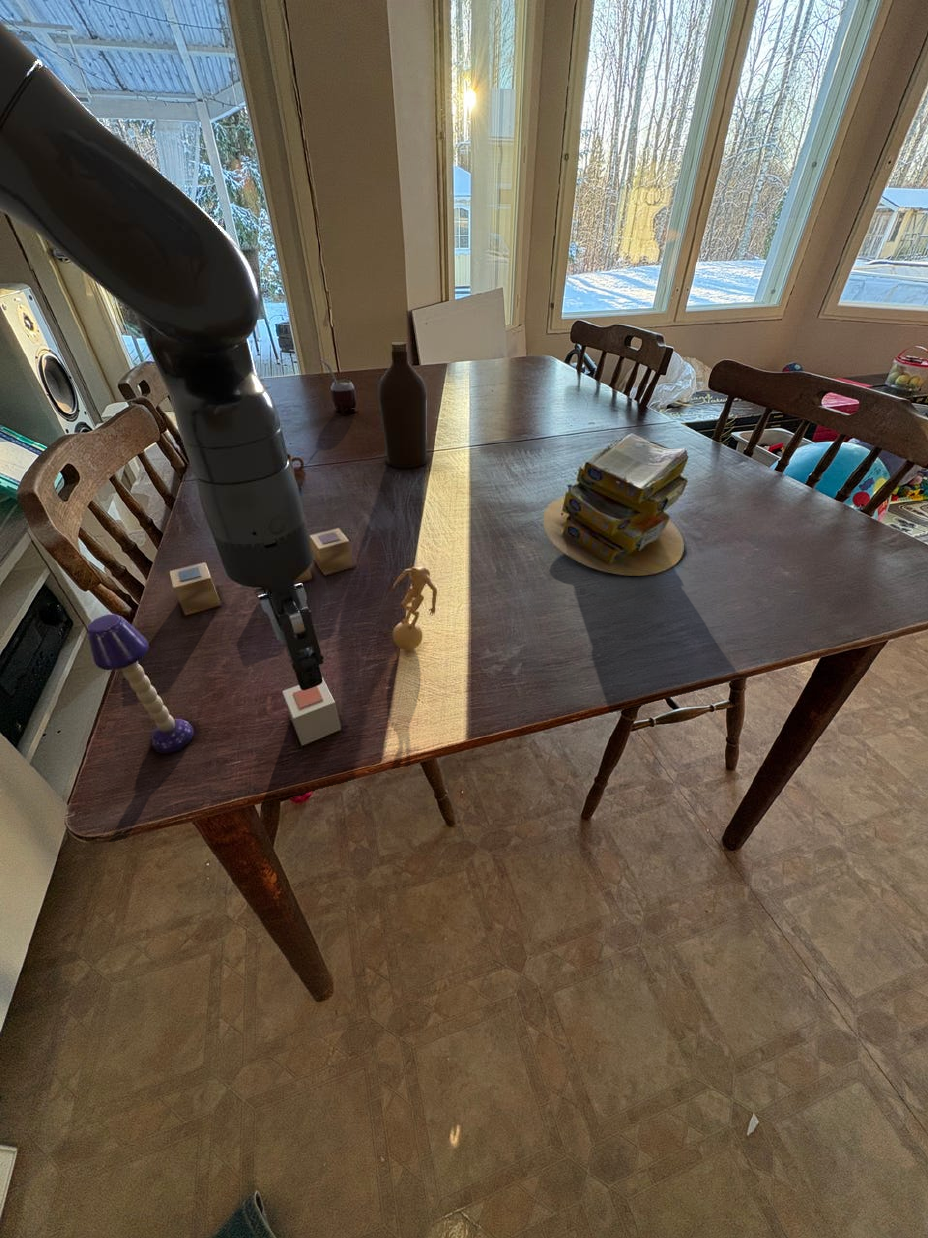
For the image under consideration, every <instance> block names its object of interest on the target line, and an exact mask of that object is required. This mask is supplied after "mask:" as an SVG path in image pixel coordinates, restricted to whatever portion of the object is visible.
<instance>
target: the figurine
mask: <svg viewBox="0 0 928 1238" xmlns="http://www.w3.org/2000/svg"><path fill="white" fill-rule="evenodd" d="M406 574H408V575H409V582H410V587H409V588H408V589H407V593H406V595H405V597H404V599H403V600H402V601H401V606H402V608H403V609H405V610H406V611H408V612H407V615H405V618H403V619H402V620H401V622H399V623H397V624H396V626H395V627H394V629H393V631H392V641H393V643H394V644H395V646H396V647H397V648H399V649H401V651H402V650H403V651H413V650H416V648H417V649H418V647H419V646H420V645H421V644H422V641H423V636H424V635H423V630H422V628H421V626H420V625H419V624H418V623H417V622H418V619H419V616H420V611H419V608H420V606H421V605H422V603H423V602H424V600H425V596H424V595H423V594H422V593H423V590H424V588H425V587H426V585H427V586H428V587H429V589H430V590H431V591H432V598H431V608H429V610H428V612H429V616H434V615H435V613H436V603H437V595H438V590H437V587H436V586H435V585H434V583H433V581H432V579H431V578H430V576H431V572H430V569H429V568H428V567H427V566H423V565H421V566H418V567H416V566H412V567H411V568H405V569H404V570H403V571H402V573H401V574H400V575H399V576H398V577H397V578H396V580H395V582H394V584H393V586H392V589H394V588H395V587H396V585H397V584H398V583H399V582H400V581H401V580H402V579H403V578H405V576H406ZM410 603H411V604H410ZM412 615H413V616H414V618H413V620H410V618H411V616H412Z"/></svg>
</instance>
